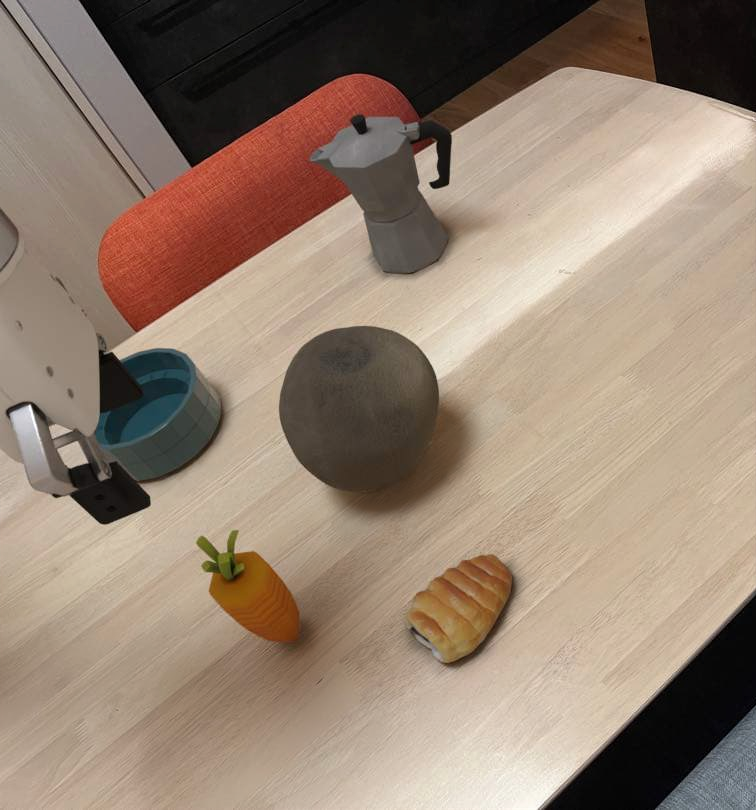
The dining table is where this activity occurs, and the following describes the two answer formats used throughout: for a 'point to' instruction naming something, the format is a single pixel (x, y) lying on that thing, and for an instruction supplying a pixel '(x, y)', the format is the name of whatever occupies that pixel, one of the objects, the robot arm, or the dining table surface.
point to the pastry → (460, 607)
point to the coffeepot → (391, 186)
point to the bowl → (160, 415)
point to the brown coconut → (359, 407)
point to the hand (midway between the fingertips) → (125, 454)
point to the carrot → (251, 592)
